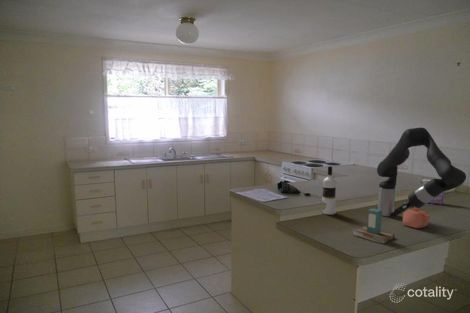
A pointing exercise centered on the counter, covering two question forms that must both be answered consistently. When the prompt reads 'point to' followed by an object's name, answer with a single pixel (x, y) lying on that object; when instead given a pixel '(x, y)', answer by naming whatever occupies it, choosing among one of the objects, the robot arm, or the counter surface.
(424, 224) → the teapot
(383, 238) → the shelf
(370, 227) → the tea box
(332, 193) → the vodka
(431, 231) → the counter surface
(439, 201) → the candy box
